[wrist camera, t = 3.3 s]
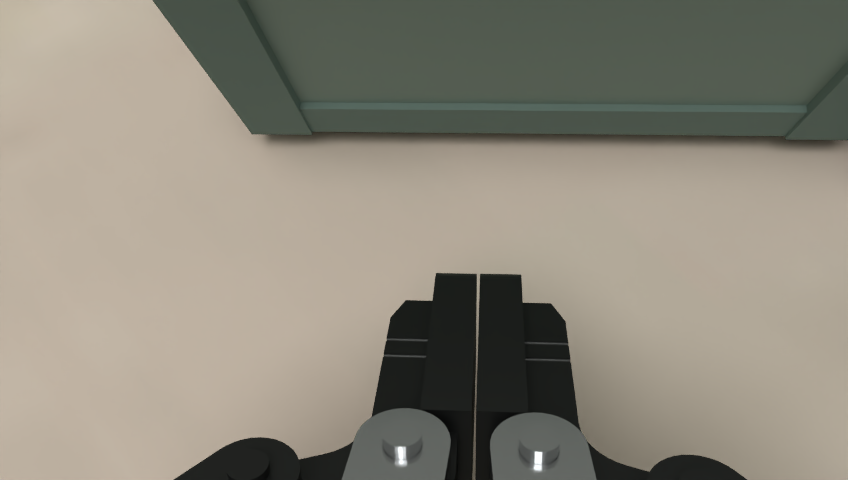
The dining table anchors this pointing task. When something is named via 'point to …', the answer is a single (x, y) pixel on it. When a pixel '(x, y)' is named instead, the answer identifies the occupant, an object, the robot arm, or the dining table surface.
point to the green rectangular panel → (526, 65)
